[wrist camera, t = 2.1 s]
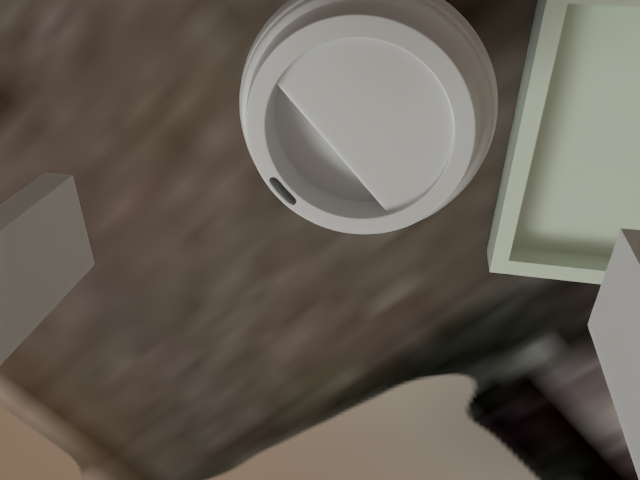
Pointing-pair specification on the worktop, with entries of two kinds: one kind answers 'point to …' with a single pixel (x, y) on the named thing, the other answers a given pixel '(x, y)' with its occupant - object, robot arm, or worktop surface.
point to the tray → (572, 144)
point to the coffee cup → (367, 109)
